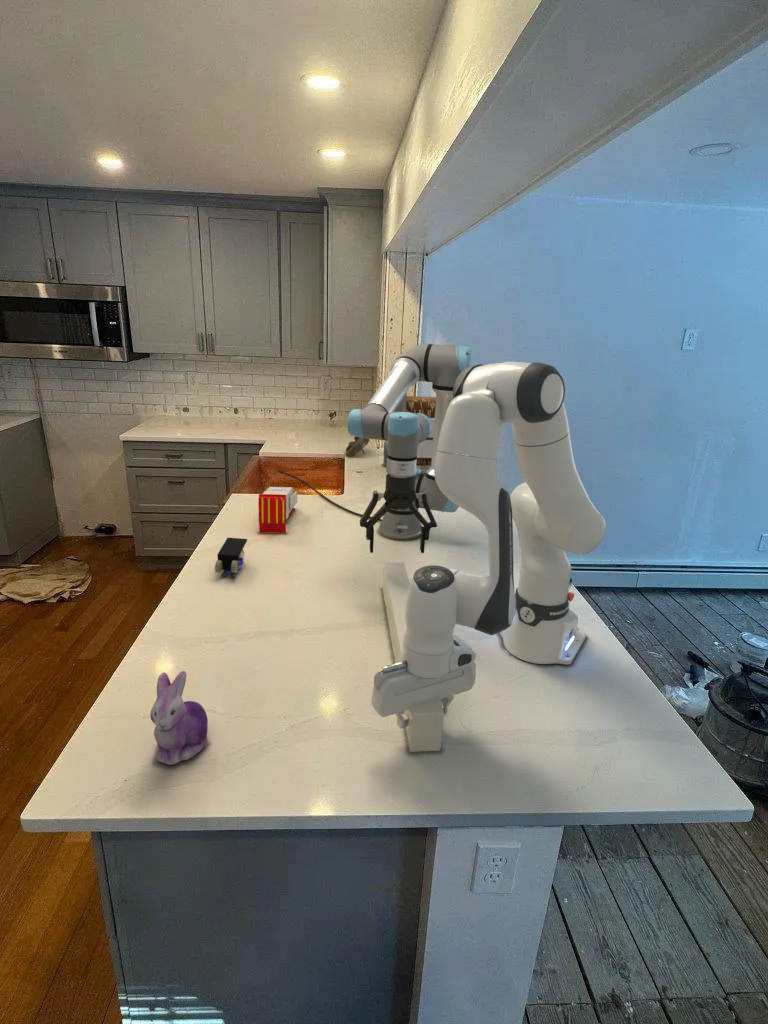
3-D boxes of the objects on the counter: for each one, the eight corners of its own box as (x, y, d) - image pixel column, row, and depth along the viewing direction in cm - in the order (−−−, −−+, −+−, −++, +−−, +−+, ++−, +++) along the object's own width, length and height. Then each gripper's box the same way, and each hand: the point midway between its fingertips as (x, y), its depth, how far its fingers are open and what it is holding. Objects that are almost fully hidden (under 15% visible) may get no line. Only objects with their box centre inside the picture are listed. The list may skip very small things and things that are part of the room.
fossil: (345, 440, 316) (366, 424, 311) (356, 453, 319) (377, 438, 314) (339, 453, 297) (361, 437, 292) (350, 467, 300) (373, 452, 295)
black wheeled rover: (238, 584, 162) (249, 557, 175) (236, 562, 158) (247, 536, 172) (215, 584, 161) (227, 556, 175) (212, 561, 158) (225, 535, 171)
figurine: (158, 776, 94) (149, 701, 89) (151, 736, 102) (142, 665, 97) (216, 758, 98) (211, 685, 93) (204, 721, 107) (199, 653, 102)
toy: (299, 482, 220) (288, 496, 190) (299, 516, 222) (288, 534, 193) (267, 481, 219) (252, 495, 190) (268, 515, 222) (253, 533, 193)
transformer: (382, 463, 289) (386, 382, 275) (445, 464, 293) (451, 384, 279) (390, 482, 257) (394, 392, 243) (460, 483, 261) (468, 394, 247)
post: (382, 589, 160) (383, 562, 157) (402, 589, 161) (403, 562, 158) (409, 751, 102) (412, 713, 99) (440, 751, 102) (444, 712, 99)
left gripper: (352, 477, 139) (350, 556, 147) (452, 479, 142) (445, 556, 149) (351, 469, 146) (349, 544, 154) (446, 471, 149) (440, 545, 156)
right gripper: (383, 680, 93) (379, 747, 98) (483, 651, 103) (476, 714, 107) (366, 659, 99) (364, 724, 103) (463, 634, 108) (457, 694, 112)
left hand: (396, 551), depth 151 cm, fingers open, 13 cm apart
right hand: (422, 718), depth 105 cm, fingers closed on post, 7 cm apart
